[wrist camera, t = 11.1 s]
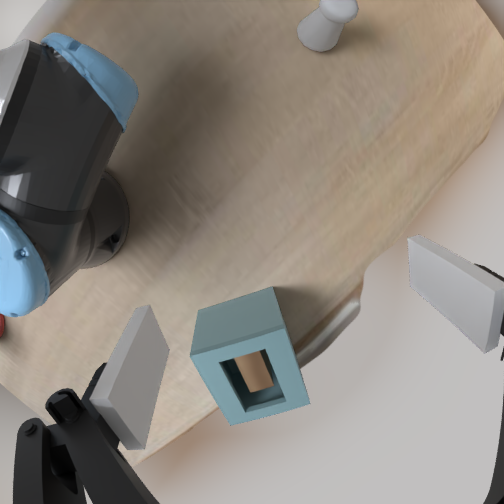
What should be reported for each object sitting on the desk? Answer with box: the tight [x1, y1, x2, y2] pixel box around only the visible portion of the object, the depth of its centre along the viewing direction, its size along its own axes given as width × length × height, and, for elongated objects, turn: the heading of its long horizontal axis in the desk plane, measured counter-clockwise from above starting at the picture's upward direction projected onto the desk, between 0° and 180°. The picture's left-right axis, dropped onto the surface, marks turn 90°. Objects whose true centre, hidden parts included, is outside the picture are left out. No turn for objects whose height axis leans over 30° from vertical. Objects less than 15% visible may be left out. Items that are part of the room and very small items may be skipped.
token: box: [234, 349, 274, 393], centre depth 45 cm, size 4×7×9 cm, turn 18°
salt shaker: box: [297, 0, 359, 52], centre depth 30 cm, size 6×6×13 cm
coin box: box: [190, 286, 310, 425], centre depth 44 cm, size 12×14×12 cm
